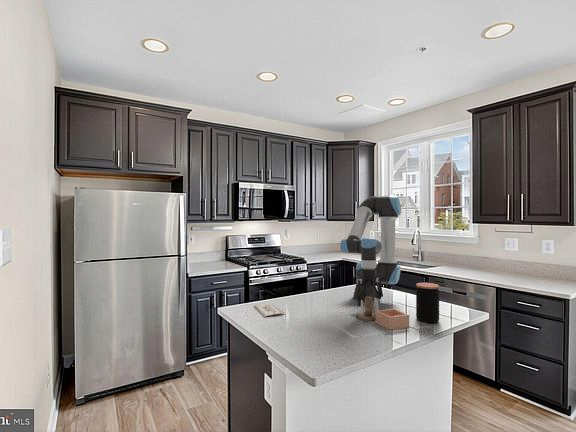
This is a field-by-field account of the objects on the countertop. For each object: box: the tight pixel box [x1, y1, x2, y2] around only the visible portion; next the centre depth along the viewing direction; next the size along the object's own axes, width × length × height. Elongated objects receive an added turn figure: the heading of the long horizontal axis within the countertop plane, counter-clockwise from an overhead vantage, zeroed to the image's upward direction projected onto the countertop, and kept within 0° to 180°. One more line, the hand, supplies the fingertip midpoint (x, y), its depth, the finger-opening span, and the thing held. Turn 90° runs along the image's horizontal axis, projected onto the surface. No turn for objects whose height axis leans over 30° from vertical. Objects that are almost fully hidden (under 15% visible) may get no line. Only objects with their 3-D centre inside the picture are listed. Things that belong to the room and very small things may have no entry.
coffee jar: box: [415, 282, 440, 325], centre depth 167 cm, size 11×11×18 cm
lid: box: [355, 297, 376, 322], centre depth 172 cm, size 12×12×10 cm
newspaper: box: [253, 302, 287, 318], centre depth 185 cm, size 23×12×2 cm, turn 20°
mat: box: [349, 313, 375, 324], centre depth 172 cm, size 14×14×1 cm
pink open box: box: [375, 308, 410, 330], centre depth 160 cm, size 11×11×6 cm
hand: (368, 311), depth 172 cm, fingers open, 9 cm apart
